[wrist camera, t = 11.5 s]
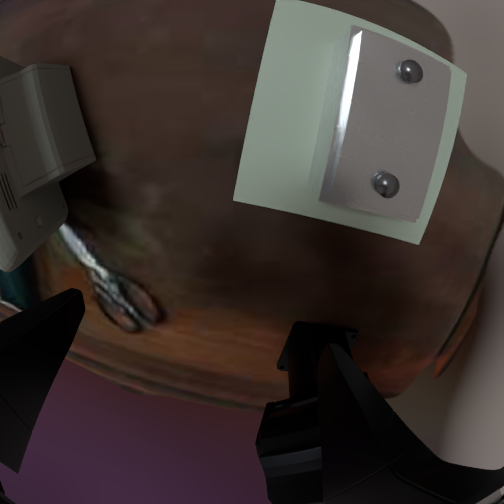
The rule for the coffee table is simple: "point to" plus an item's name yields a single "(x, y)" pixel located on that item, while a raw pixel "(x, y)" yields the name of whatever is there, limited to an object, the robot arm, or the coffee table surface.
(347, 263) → the coffee table surface
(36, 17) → the coffee table surface
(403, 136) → the block
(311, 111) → the stand
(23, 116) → the digital clock
